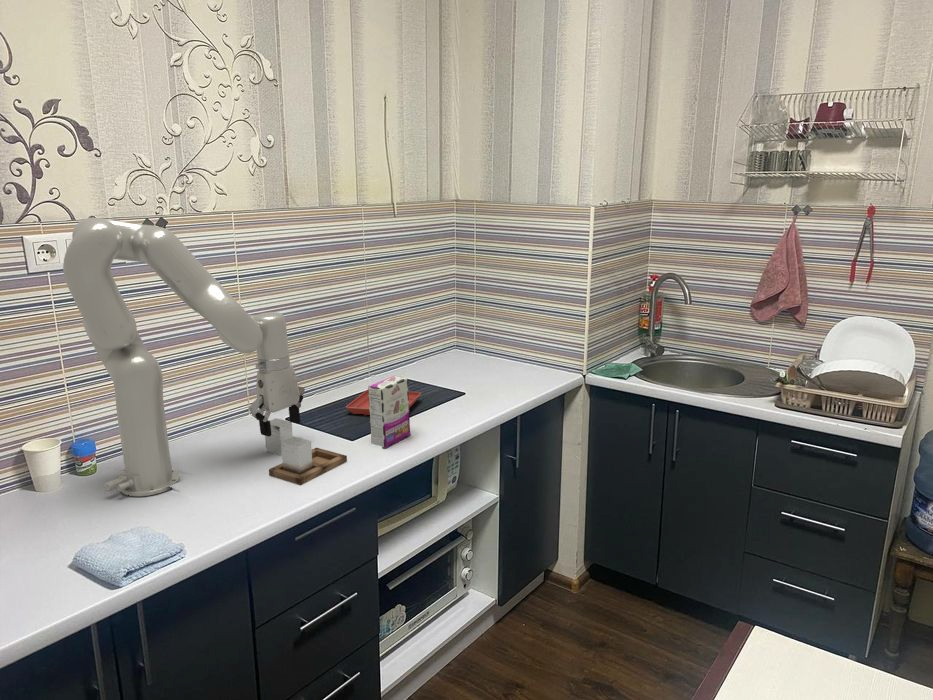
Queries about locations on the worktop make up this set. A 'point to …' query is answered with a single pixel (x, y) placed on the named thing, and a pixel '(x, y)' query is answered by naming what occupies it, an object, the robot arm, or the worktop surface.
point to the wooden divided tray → (321, 465)
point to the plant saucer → (362, 403)
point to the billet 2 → (296, 455)
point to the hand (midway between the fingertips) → (281, 428)
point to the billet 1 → (278, 435)
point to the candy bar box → (389, 411)
